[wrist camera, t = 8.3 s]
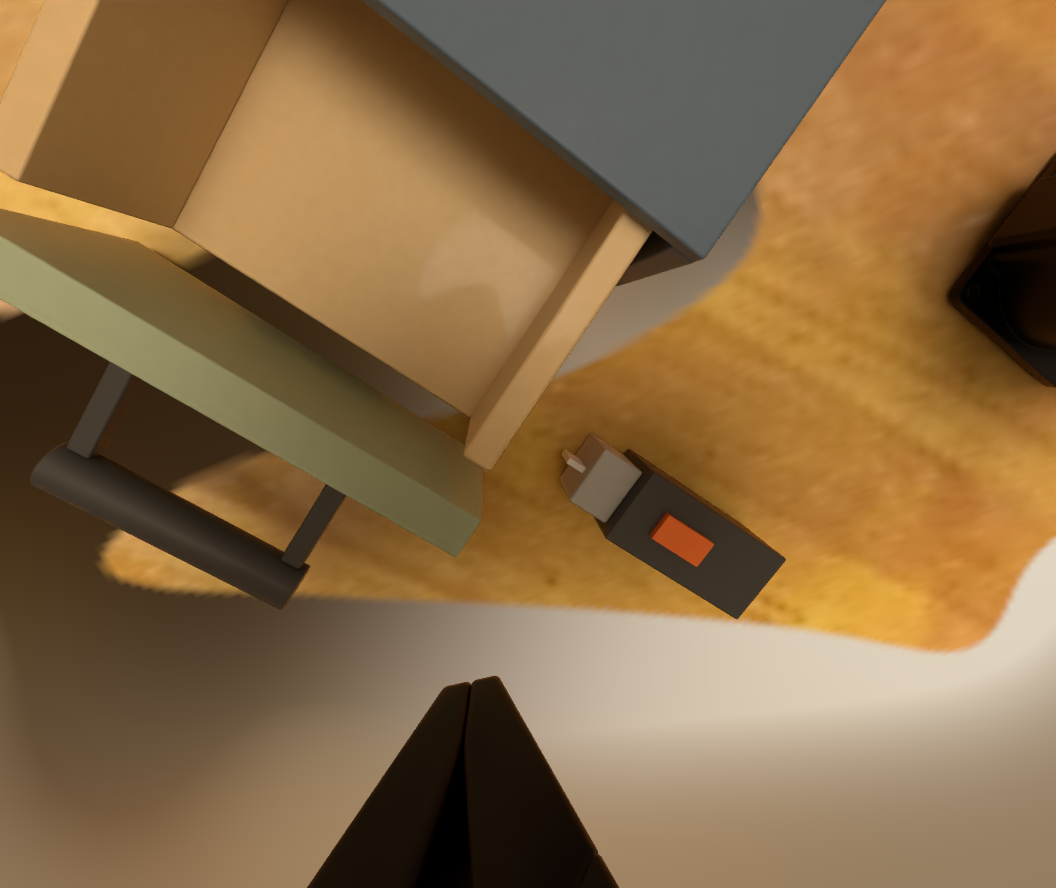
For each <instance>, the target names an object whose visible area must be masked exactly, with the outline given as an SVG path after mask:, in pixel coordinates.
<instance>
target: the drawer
mask: <svg viewBox="0 0 1056 888" xmlns="http://www.w3.org/2000/svg"><path fill="white" fill-rule="evenodd" d="M0 171H1V172H3V173H5V174H6V175H8V176H10V177H11V178H13V179H14V180H16V181H19V182H22V183H25V184H29V185H32V186H35V187H38V188H42V189H45V190H48V191H51V192H55V193H58V194H61V195H65V196H68V197H71V198H74V199H78V200H81V201H84V202H87V203H91V204H94V205H97V206H100V207H104V208H107V209H110V210H113V211H117V212H120V213H123V214H126V215H130V216H133V217H136V218H139V219H143V220H146V221H149V222H152V223H156V224H159V225H162V226H165V227H169V228H172V229H174V230H175V231H177V232H179V233H180V234H182V235H183V236H185V237H186V238H188V239H190V240H191V241H193V242H194V243H196V244H197V245H199V246H201V247H202V248H204V249H205V250H207V251H208V252H210V253H212V254H213V255H215V256H216V257H218V258H219V259H221V260H223V261H224V262H226V263H227V264H229V265H231V266H232V267H234V268H235V269H237V270H238V271H240V272H241V273H243V274H245V275H246V276H248V277H249V278H251V279H252V280H254V281H256V282H257V283H259V284H260V285H262V286H264V287H265V288H267V289H268V290H270V291H272V292H273V293H274V294H276V295H278V296H279V297H281V298H282V299H284V300H285V301H287V302H289V303H290V304H292V305H293V306H295V307H296V308H298V309H300V310H302V311H303V312H304V313H306V314H307V315H309V316H311V317H312V318H314V319H315V320H317V321H319V322H320V323H322V324H323V325H325V326H326V327H328V328H330V329H331V330H333V331H334V332H336V333H337V334H339V335H341V336H342V337H344V338H345V339H347V340H349V341H350V342H352V343H353V344H355V345H356V346H358V347H360V348H361V349H363V350H364V351H366V352H367V353H369V354H370V355H372V356H374V357H375V358H377V359H378V360H380V361H381V362H383V363H385V364H386V365H388V366H389V367H391V368H392V369H394V370H396V371H397V372H399V373H400V374H402V375H404V376H405V377H407V378H408V379H410V380H412V381H413V382H415V383H416V384H418V385H419V386H421V387H422V388H424V389H426V390H427V391H429V392H430V393H432V394H433V395H435V396H436V397H438V398H440V399H441V400H443V401H444V402H446V403H447V404H449V405H451V406H452V407H454V408H455V409H457V410H458V411H460V412H462V413H463V414H465V415H466V416H468V417H469V418H470V423H469V428H468V433H467V438H466V443H465V445H464V444H462V443H461V442H459V441H457V440H456V439H454V438H453V437H451V436H449V435H448V434H446V433H444V432H443V431H441V430H440V429H438V428H436V427H435V426H433V425H432V424H430V423H428V422H427V421H425V420H424V419H422V418H420V417H419V416H417V415H416V414H414V413H412V412H411V411H409V410H407V409H406V408H404V407H403V406H401V405H399V404H398V403H396V402H395V401H393V400H391V399H390V398H388V397H387V396H385V395H383V394H382V393H380V392H378V391H377V390H375V389H374V388H372V387H370V386H369V385H367V384H365V383H364V382H362V381H361V380H359V379H357V378H356V377H354V376H353V375H351V374H350V373H348V372H346V371H345V370H343V369H341V368H340V367H338V366H337V365H335V364H333V363H332V362H330V361H329V360H327V359H325V358H324V357H322V356H320V355H319V354H317V353H316V352H314V351H313V350H311V349H309V348H308V347H306V346H305V345H303V344H301V343H300V342H298V341H297V340H295V339H293V338H292V337H290V336H288V335H287V334H285V333H284V332H282V331H280V330H279V329H277V328H276V327H274V326H272V325H271V324H269V323H267V322H266V321H264V320H263V319H261V318H259V317H258V316H256V315H255V314H253V313H252V312H250V311H248V310H247V309H245V308H243V307H242V306H240V305H239V304H237V303H235V302H234V301H232V300H231V299H229V298H227V297H226V296H224V295H222V294H221V293H219V292H218V291H216V290H215V289H213V288H211V287H210V286H208V285H206V284H205V283H203V282H202V281H200V280H198V279H196V278H195V277H193V276H192V275H190V274H189V273H187V272H186V271H184V270H182V269H181V268H179V267H178V266H176V265H174V264H173V263H171V262H170V261H168V260H166V259H165V258H163V257H161V256H160V255H158V254H157V253H155V252H153V251H152V250H150V249H149V248H147V247H145V246H144V245H142V244H141V243H139V242H137V241H133V240H129V239H125V238H120V237H116V236H112V235H108V234H104V233H100V232H95V231H91V230H87V229H83V228H79V227H74V226H70V225H66V224H62V223H58V222H54V221H49V220H45V219H41V218H37V217H33V216H29V215H24V214H20V213H16V212H12V211H8V210H4V209H0V299H1V300H3V301H4V302H6V303H8V304H10V305H12V306H13V307H15V308H17V309H19V310H20V311H22V312H24V313H26V314H27V315H29V316H31V317H33V318H34V319H36V320H38V321H40V322H41V323H43V324H45V325H47V326H48V327H50V328H52V329H54V330H56V331H57V332H59V333H61V334H63V335H64V336H66V337H68V338H70V339H72V340H73V341H75V342H77V343H79V344H80V345H82V346H84V347H85V348H87V349H89V350H91V351H93V352H94V353H96V354H98V355H100V356H101V357H103V358H105V359H107V360H108V361H110V363H109V365H108V367H107V369H106V371H105V373H104V375H103V377H102V379H101V381H100V383H99V384H98V386H97V388H96V391H95V392H94V394H93V396H92V398H91V400H90V402H89V404H88V406H87V408H86V410H85V412H84V414H83V416H82V418H81V420H80V422H79V424H78V426H77V428H76V430H75V431H74V433H73V435H72V437H71V439H70V441H69V442H66V443H63V444H61V445H59V446H57V447H55V448H54V449H52V450H51V451H50V452H48V453H47V454H46V455H45V456H44V457H43V458H42V459H41V460H40V461H39V462H38V463H37V465H36V466H35V468H34V470H33V471H32V473H31V477H30V480H31V483H32V484H33V485H34V486H35V487H37V488H39V489H41V490H44V491H45V492H47V493H49V494H51V495H53V496H55V497H57V498H59V499H61V500H63V501H65V502H67V503H69V504H71V505H73V506H75V507H77V508H79V509H81V510H83V511H85V512H87V513H89V514H91V515H93V516H95V517H97V518H99V519H101V520H103V521H105V522H107V523H109V524H111V525H113V526H115V527H117V528H119V529H121V530H123V531H125V532H127V533H129V534H131V535H133V536H135V537H137V538H139V539H141V540H143V541H145V542H147V543H149V544H151V545H153V546H155V547H157V548H158V549H160V550H162V551H164V552H166V553H168V554H170V555H172V556H174V557H176V558H178V559H180V560H182V561H184V562H186V563H188V564H190V565H192V566H194V567H196V568H198V569H200V570H202V571H204V572H206V573H208V574H210V575H212V576H214V577H216V578H218V579H220V580H222V581H224V582H226V583H228V584H230V585H232V586H234V587H236V588H238V589H240V590H242V591H244V592H246V593H248V594H250V595H252V596H254V597H256V598H258V599H260V600H262V601H264V602H266V603H268V604H270V605H272V606H274V607H276V608H278V609H283V607H284V606H285V605H286V604H287V602H288V601H289V599H290V598H291V597H292V595H293V594H294V592H295V591H296V589H297V588H298V586H299V585H300V583H301V582H302V580H303V578H304V577H305V575H306V574H307V572H308V570H309V568H310V566H309V565H308V564H306V563H304V562H305V561H306V559H307V558H308V556H309V555H310V553H311V552H312V550H313V548H314V547H315V545H316V544H317V542H318V540H319V539H320V537H321V536H322V534H323V532H324V531H325V529H326V528H327V526H328V524H329V523H330V521H331V520H332V518H333V517H334V515H335V513H336V512H337V510H338V509H339V507H340V505H341V504H342V502H343V501H344V499H345V497H346V496H348V497H350V498H351V499H353V500H355V501H357V502H358V503H360V504H362V505H364V506H366V507H367V508H369V509H371V510H373V511H374V512H376V513H378V514H380V515H381V516H383V517H385V518H387V519H388V520H390V521H392V522H394V523H395V524H397V525H399V526H401V527H403V528H404V529H406V530H408V531H410V532H411V533H413V534H415V535H417V536H418V537H420V538H422V539H424V540H425V541H427V542H429V543H431V544H432V545H434V546H436V547H438V548H440V549H441V550H443V551H445V552H447V553H448V554H450V555H452V556H454V557H457V556H458V555H459V553H460V552H461V550H462V549H463V547H464V546H465V544H466V543H467V541H468V540H469V539H470V537H471V536H472V534H473V533H474V531H475V530H476V528H477V527H478V525H479V524H480V523H481V516H482V490H483V468H484V469H485V470H490V469H492V468H493V466H494V465H495V463H496V462H497V460H498V459H499V457H500V456H501V454H502V453H503V451H504V450H505V448H506V447H507V445H508V444H509V442H510V441H511V439H512V438H513V436H514V435H515V434H516V432H517V431H518V429H519V428H520V426H521V425H522V423H523V422H524V420H525V419H526V417H527V416H528V414H529V413H530V411H531V410H532V408H533V407H534V405H535V404H536V403H537V401H538V400H539V398H540V397H541V395H542V394H543V392H544V391H545V389H546V388H547V386H548V385H549V383H550V382H551V380H552V379H553V377H554V376H555V374H556V373H557V372H558V370H559V368H560V367H561V366H562V364H563V363H564V361H565V360H566V358H567V357H568V355H569V354H570V352H571V351H572V349H573V348H574V346H575V345H576V343H577V342H578V340H579V339H580V338H581V336H582V335H583V333H584V332H585V330H586V329H587V327H588V326H589V324H590V323H591V321H592V320H593V318H594V317H595V315H596V314H597V312H598V311H599V309H600V308H601V307H602V305H603V303H604V302H605V301H606V299H607V298H608V296H609V295H610V293H611V292H612V290H613V289H614V287H615V286H616V284H617V283H618V281H619V280H620V278H621V277H622V276H623V274H624V273H625V271H626V270H627V268H628V267H629V265H630V264H631V262H632V261H633V259H634V258H635V256H636V255H637V253H638V252H639V250H640V249H641V247H642V246H643V244H644V243H645V242H646V240H647V239H648V237H649V236H650V234H651V233H652V231H653V230H652V229H650V228H649V227H648V226H647V225H645V224H644V223H643V222H642V221H640V220H639V219H638V218H637V217H635V216H634V215H633V214H631V213H630V212H629V211H628V210H626V209H625V208H624V207H623V206H621V205H620V204H619V203H618V202H616V201H615V200H614V199H612V198H611V197H610V196H609V195H607V194H606V193H605V192H604V191H602V190H601V189H600V188H599V187H597V186H596V185H595V184H593V183H592V182H591V181H590V180H588V179H587V178H586V177H585V176H583V175H582V174H581V173H580V172H578V171H577V170H576V169H574V168H573V167H572V166H571V165H569V164H568V163H567V162H566V161H564V160H563V159H562V158H561V157H559V156H558V155H557V154H555V153H554V152H553V151H552V150H550V149H549V148H548V147H547V146H545V145H544V144H543V143H542V142H540V141H539V140H538V139H536V138H535V137H534V136H533V135H531V134H530V133H529V132H528V131H526V130H525V129H524V128H523V127H521V126H520V125H519V124H517V123H516V122H515V121H514V120H512V119H511V118H510V117H509V116H507V115H506V114H505V113H504V112H502V111H501V110H500V109H498V108H497V107H496V106H495V105H493V104H492V103H491V102H490V101H488V100H487V99H486V98H485V97H483V96H482V95H481V94H479V93H478V92H477V91H476V90H474V89H473V88H472V87H471V86H469V85H468V84H467V83H466V82H464V81H463V80H462V79H460V78H459V77H458V76H457V75H455V74H454V73H453V72H452V71H450V70H449V69H448V68H447V67H445V66H444V65H443V64H441V63H440V62H439V61H438V60H436V59H435V58H434V57H433V56H431V55H430V54H429V53H427V52H426V51H425V50H424V49H422V48H421V47H420V46H419V45H417V44H416V43H415V42H414V41H412V40H411V39H410V38H408V37H407V36H406V35H405V34H403V33H402V32H401V31H400V30H398V29H397V28H396V27H395V26H393V25H392V24H391V23H389V22H388V21H387V20H386V19H384V18H383V17H382V16H381V15H379V14H378V13H377V12H376V11H374V10H373V9H372V8H370V7H369V6H368V5H367V4H365V3H364V2H363V1H362V0H44V2H43V4H42V7H41V9H40V11H39V14H38V16H37V18H36V21H35V23H34V25H33V28H32V30H31V32H30V35H29V37H28V39H27V42H26V44H25V46H24V49H23V51H22V53H21V55H20V58H19V60H18V62H17V65H16V67H15V69H14V72H13V74H12V76H11V79H10V81H9V83H8V86H7V88H6V90H5V93H4V95H3V97H2V100H1V102H0ZM142 380H144V381H145V382H147V383H149V384H151V385H152V386H154V387H156V388H158V389H160V390H162V391H163V392H165V393H167V394H168V395H170V396H172V397H174V398H175V399H177V400H179V401H181V402H183V403H184V404H186V405H188V406H190V407H192V408H193V409H195V410H197V411H198V412H200V413H202V414H204V415H206V416H207V417H209V418H211V419H212V420H214V421H216V422H218V423H219V424H221V425H223V426H225V427H227V428H228V429H230V430H232V431H234V432H235V433H237V434H239V435H241V436H243V437H244V438H246V439H248V440H249V441H251V442H253V443H255V444H256V445H258V446H260V447H262V448H263V449H265V450H267V451H269V452H270V453H272V454H274V455H276V456H277V457H279V458H281V459H283V460H285V461H286V462H288V463H290V464H292V465H293V466H295V467H297V468H299V469H300V470H302V471H304V472H306V473H307V474H309V475H311V476H313V477H314V478H316V479H318V480H320V481H322V482H323V483H325V484H326V485H325V487H324V488H323V490H322V492H321V493H320V495H319V497H318V498H317V500H316V501H315V503H314V505H313V506H312V508H311V510H310V511H309V513H308V514H307V516H306V518H305V519H304V521H303V522H302V524H301V526H300V527H299V529H298V531H297V532H296V534H295V535H294V537H293V539H292V540H291V542H290V544H289V545H288V547H287V548H286V550H285V552H283V551H282V550H280V549H278V548H276V547H274V546H272V545H270V544H268V543H266V542H264V541H263V540H261V539H259V538H257V537H255V536H253V535H251V534H249V533H247V532H246V531H244V530H242V529H240V528H238V527H236V526H234V525H232V524H230V523H229V522H227V521H225V520H223V519H221V518H219V517H217V516H215V515H213V514H212V513H210V512H208V511H206V510H204V509H202V508H200V507H198V506H196V505H195V504H193V503H191V502H189V501H187V500H185V499H183V498H181V497H179V496H177V495H176V494H174V493H172V492H170V491H168V490H166V489H164V488H162V487H160V486H158V485H157V484H155V483H153V482H151V481H149V480H147V479H145V478H143V477H142V476H140V475H138V474H136V473H134V472H132V471H130V470H128V469H126V468H125V467H123V466H121V465H119V464H117V463H115V462H113V461H111V460H109V459H107V458H106V457H104V456H102V455H101V454H103V453H104V452H105V450H106V448H107V446H108V445H109V443H110V441H111V439H112V437H113V435H114V433H115V431H116V429H117V427H118V425H119V423H120V422H121V420H122V418H123V416H124V414H125V412H126V410H127V409H128V407H129V405H130V403H131V401H132V399H133V397H134V395H135V393H136V391H137V390H138V388H139V386H140V384H141V382H142Z"/></svg>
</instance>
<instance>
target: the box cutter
mask: <svg viewBox="0 0 1056 888" xmlns="http://www.w3.org/2000/svg"><path fill="white" fill-rule="evenodd" d="M562 456H563V458H564V459H565V461H566V463H567V464H569V465H568V466H567V467H566V469H565V470H564V472H563V473H562V475H561V476H560V478H559V479H560V481H561V483H562V485H563V488H564V490H565V492H566V494H567V496H568V498H569V500H570V502H572V503H574V504H575V505H577V506H578V507H580V508H582V509H583V510H585V511H586V512H588V513H590V514H591V515H593V516H594V518H595V520H596V522H597V523H598V525H599V527H600V529H601V531H602V532H603V534H604V536H605V538H606V539H608V540H609V541H611V542H612V543H614V544H616V545H617V546H619V547H620V548H622V549H624V550H625V551H627V552H629V553H630V554H632V555H633V556H635V557H637V558H638V559H640V560H641V561H643V562H645V563H646V564H648V565H650V566H651V567H653V568H654V569H656V570H658V571H659V572H661V573H662V574H664V575H666V576H667V577H669V578H671V579H672V580H674V581H675V582H677V583H679V584H680V585H682V586H683V587H685V588H687V589H688V590H690V591H692V592H693V593H695V594H696V595H698V596H700V597H701V598H703V599H704V600H706V601H708V602H709V603H711V604H713V605H714V606H716V607H717V608H719V609H721V610H722V611H724V612H725V613H727V614H729V615H730V616H732V617H734V618H735V619H738V618H739V617H740V616H741V614H742V613H743V612H744V611H745V609H746V608H747V607H748V606H749V605H750V603H751V602H752V601H753V600H754V598H755V597H756V596H757V595H758V594H759V592H760V591H761V590H762V589H763V587H764V586H765V585H766V584H767V583H768V581H769V580H770V579H771V578H772V576H773V575H774V574H775V573H776V572H777V570H778V569H779V568H780V567H781V565H782V564H783V563H784V562H785V560H786V559H785V558H784V557H783V556H782V555H780V554H779V553H778V552H776V551H775V550H774V549H773V548H771V547H770V546H769V545H768V544H766V543H765V542H764V541H762V540H761V539H760V538H759V537H757V536H756V535H755V534H753V533H752V532H751V531H750V530H748V529H747V528H746V527H745V526H743V525H742V524H741V523H739V522H738V521H736V520H735V519H733V518H732V517H730V516H729V515H727V514H726V513H724V512H723V511H721V510H720V509H718V508H717V507H715V506H714V505H712V504H711V503H709V502H708V501H706V500H705V499H703V498H702V497H700V496H699V495H697V494H696V493H694V492H693V491H691V490H690V489H688V488H687V487H685V486H684V485H683V484H681V483H680V482H678V481H677V480H675V479H674V478H672V477H671V476H669V475H668V474H666V473H665V472H663V471H662V470H660V469H659V468H657V467H656V466H654V465H653V464H651V463H650V462H648V461H647V460H645V459H644V458H642V457H641V456H639V455H638V454H636V453H635V452H633V451H632V450H630V449H627V451H626V452H625V453H624V455H623V454H622V453H621V452H619V451H618V450H616V449H615V448H613V447H612V446H610V445H609V444H607V443H606V442H604V441H603V440H601V439H600V438H598V437H597V436H595V435H594V434H590V435H589V436H588V438H587V439H586V440H585V442H584V443H583V445H582V446H581V448H580V449H579V450H578V452H577V453H576V455H573V454H572V453H570V452H569V451H567V450H564V451H563V453H562Z"/></svg>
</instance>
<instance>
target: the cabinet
mask: <svg viewBox="0 0 1056 888" xmlns="http://www.w3.org/2000/svg"><path fill="white" fill-rule="evenodd" d="M362 1H363V2H364V3H365V4H367V5H368V6H369V7H370V8H372V9H373V10H374V11H376V12H377V13H378V14H379V15H381V16H382V17H383V18H384V19H386V20H387V21H388V22H389V23H391V24H392V25H393V26H395V27H396V28H397V29H398V30H400V31H401V32H402V33H403V34H405V35H406V36H407V37H408V38H410V39H411V40H412V41H414V42H415V43H416V44H417V45H419V46H420V47H421V48H422V49H424V50H425V51H426V52H427V53H429V54H430V55H431V56H433V57H434V58H435V59H436V60H438V61H439V62H440V63H441V64H443V65H444V66H445V67H447V68H448V69H449V70H450V71H452V72H453V73H454V74H455V75H457V76H458V77H459V78H460V79H462V80H463V81H464V82H466V83H467V84H468V85H469V86H471V87H472V88H473V89H474V90H476V91H477V92H478V93H479V94H481V95H482V96H483V97H485V98H486V99H487V100H488V101H490V102H491V103H492V104H493V105H495V106H496V107H497V108H498V109H500V110H501V111H502V112H504V113H505V114H506V115H507V116H509V117H510V118H511V119H512V120H514V121H515V122H516V123H517V124H519V125H520V126H521V127H523V128H524V129H525V130H526V131H528V132H529V133H530V134H531V135H533V136H534V137H535V138H536V139H538V140H539V141H540V142H542V143H543V144H544V145H545V146H547V147H548V148H549V149H550V150H552V151H553V152H554V153H555V154H557V155H558V156H559V157H561V158H562V159H563V160H564V161H566V162H567V163H568V164H569V165H571V166H572V167H573V168H574V169H576V170H577V171H578V172H580V173H581V174H582V175H583V176H585V177H586V178H587V179H588V180H590V181H591V182H592V183H593V184H595V185H596V186H597V187H599V188H600V189H601V190H602V191H604V192H605V193H606V194H607V195H609V196H610V197H611V198H612V199H614V200H615V201H616V202H618V203H619V204H620V205H621V206H623V207H624V208H625V209H626V210H628V211H629V212H630V213H631V214H633V215H634V216H635V217H637V218H638V219H639V220H640V221H642V222H643V223H644V224H645V225H647V226H648V227H649V228H650V229H652V230H653V231H652V233H651V234H650V236H649V237H648V239H647V240H646V242H645V243H644V244H643V246H642V247H641V249H640V250H639V252H638V253H637V255H636V256H635V258H634V259H633V261H632V262H631V264H630V265H629V267H628V268H627V270H626V271H625V273H624V274H623V276H622V277H621V278H620V280H619V281H618V283H617V284H616V286H619V285H623V284H626V283H629V282H632V281H636V280H639V279H642V278H645V277H649V276H652V275H655V274H658V273H662V272H665V271H668V270H671V269H675V268H678V267H681V266H684V265H688V264H691V263H693V262H696V261H698V260H702V259H704V258H705V257H706V256H707V255H708V253H709V252H710V250H711V249H712V248H713V246H714V245H715V243H716V242H717V240H718V239H719V238H720V236H721V235H722V233H723V232H724V230H725V229H726V228H727V226H728V225H729V223H730V222H731V220H732V219H733V218H734V216H735V215H736V213H737V212H738V210H739V209H740V208H741V206H742V205H743V203H744V202H745V201H746V199H747V197H748V196H749V195H750V193H751V192H752V191H753V189H754V188H755V186H756V185H757V183H758V182H759V181H760V179H761V178H762V176H763V175H764V173H765V172H766V171H767V169H768V168H769V166H770V165H771V164H772V162H773V161H774V159H775V158H776V156H777V155H778V154H779V152H780V151H781V149H782V148H783V146H784V145H785V144H786V142H787V141H788V139H789V138H790V136H791V135H792V134H793V132H794V131H795V129H796V128H797V126H798V125H799V124H800V122H801V121H802V119H803V118H804V117H805V115H806V114H807V112H808V111H809V109H810V108H811V107H812V105H813V104H814V102H815V101H816V99H817V98H818V97H819V95H820V94H821V92H822V91H823V89H824V88H825V87H826V85H827V84H828V82H829V81H830V79H831V78H832V77H833V75H834V74H835V72H836V71H837V70H838V68H839V67H840V65H841V64H842V62H843V61H844V60H845V58H846V57H847V55H848V54H849V52H850V51H851V50H852V48H853V47H854V45H855V44H856V42H857V41H858V40H859V38H860V37H861V35H862V34H863V32H864V31H865V30H866V28H867V27H868V25H869V24H870V23H871V21H872V20H873V18H874V17H875V15H876V14H877V13H878V11H879V10H880V8H881V7H882V5H883V4H884V3H885V1H886V0H362Z"/></svg>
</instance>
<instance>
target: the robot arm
mask: <svg viewBox="0 0 1056 888" xmlns="http://www.w3.org/2000/svg"><path fill="white" fill-rule="evenodd" d="M967 290H969V295H968V297H966V292H967ZM950 299H951V302H952V304H953V305H954V306H955V307H956V308H957V309H959V310H960V311H961V312H962V313H963V314H964V315H965V316H966V317H968V318H969V319H970V320H971V321H972V322H973V323H974V324H975V325H977V326H978V327H979V328H980V329H981V330H982V331H983V332H984V333H986V334H987V335H988V336H989V337H990V338H991V339H992V340H994V341H995V342H996V343H997V344H998V345H999V346H1000V347H1001V348H1003V349H1004V350H1005V351H1006V352H1007V353H1008V354H1009V355H1010V356H1012V357H1013V358H1014V359H1015V360H1016V361H1017V362H1018V363H1019V364H1021V365H1022V366H1023V367H1024V368H1025V369H1026V370H1027V371H1029V372H1030V373H1031V374H1032V375H1033V376H1034V377H1035V378H1036V379H1038V380H1039V381H1040V382H1041V383H1042V384H1043V385H1045V386H1047V387H1053V388H1056V158H1055V160H1054V161H1053V162H1052V163H1051V165H1050V166H1049V167H1048V168H1047V170H1046V171H1045V172H1044V173H1043V175H1042V176H1041V177H1040V178H1039V180H1038V181H1036V183H1035V184H1034V185H1033V186H1032V188H1031V189H1030V190H1029V191H1028V193H1027V194H1026V195H1025V196H1024V198H1023V199H1022V200H1021V202H1020V203H1019V204H1018V205H1017V207H1016V208H1015V209H1014V210H1013V212H1012V213H1011V214H1010V215H1009V217H1008V218H1007V219H1006V220H1005V222H1004V223H1003V224H1002V225H1001V227H1000V228H999V229H998V230H997V232H996V233H995V234H994V235H993V237H992V238H991V240H990V241H989V242H988V244H987V245H986V246H985V247H984V249H983V250H982V251H981V252H980V254H979V255H978V256H977V257H976V259H975V260H974V261H973V262H972V264H971V265H970V266H969V267H968V269H967V270H966V271H965V272H964V274H963V275H962V276H961V278H960V279H959V280H958V281H957V283H956V284H955V285H954V286H953V288H952V290H951V293H950ZM307 888H619V887H618V885H617V883H616V882H615V880H614V878H613V876H612V875H611V873H610V871H609V869H608V867H607V866H606V864H605V862H604V861H603V859H602V857H601V856H600V855H598V851H597V849H596V847H595V845H594V844H593V842H592V840H591V838H590V837H589V835H588V833H587V831H586V829H585V828H584V826H583V824H582V822H581V821H580V819H579V817H578V815H577V814H576V812H575V810H574V808H573V806H572V805H571V803H570V801H569V799H568V798H567V796H566V794H565V792H564V791H563V789H562V787H561V785H560V784H559V782H558V780H557V779H556V777H555V775H554V773H553V771H552V769H551V768H550V766H549V764H548V763H547V761H546V759H545V757H544V755H543V754H542V752H541V750H540V748H539V747H538V745H537V743H536V741H535V740H534V738H533V736H532V734H531V733H530V731H529V729H528V727H527V725H526V724H525V722H524V720H523V718H522V717H521V715H520V713H519V711H518V710H517V708H516V706H515V704H514V703H513V701H512V699H511V697H510V695H509V694H508V692H507V690H506V688H505V687H504V685H503V683H502V682H501V680H500V678H499V677H497V676H491V677H487V678H482V679H478V680H475V681H474V682H473V683H472V685H471V684H470V683H469V682H464V683H459V684H455V685H450V686H447V687H445V688H444V689H443V690H442V691H441V692H440V694H439V695H438V697H437V698H436V700H435V701H434V703H433V704H432V705H431V707H430V708H429V710H428V711H427V713H426V714H425V716H424V717H423V719H422V720H421V722H420V723H419V724H418V726H417V728H416V729H415V730H414V732H413V734H412V735H411V736H410V738H409V739H408V741H407V742H406V744H405V745H404V747H403V748H402V749H401V751H400V752H399V754H398V755H397V757H396V758H395V760H394V761H393V763H392V764H391V765H390V767H389V768H388V770H387V771H386V773H385V775H384V776H383V777H382V779H381V780H380V782H379V783H378V785H377V786H376V788H375V789H374V791H373V792H372V793H371V795H370V796H369V798H368V799H367V801H366V802H365V804H364V805H363V806H362V808H361V810H360V811H359V813H358V814H357V815H356V817H355V818H354V820H353V821H352V823H351V824H350V826H349V827H348V828H347V830H346V831H345V833H344V834H343V836H342V837H341V839H340V840H339V842H338V843H337V845H336V846H335V848H334V849H333V850H332V852H331V854H330V855H329V856H328V858H327V859H326V861H325V862H324V864H323V865H322V867H321V868H320V869H319V871H318V872H317V874H316V876H315V877H314V879H313V880H312V881H311V883H310V884H309V886H308V887H307Z"/></svg>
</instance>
